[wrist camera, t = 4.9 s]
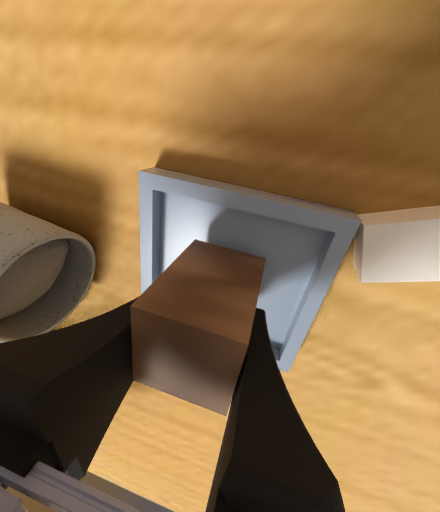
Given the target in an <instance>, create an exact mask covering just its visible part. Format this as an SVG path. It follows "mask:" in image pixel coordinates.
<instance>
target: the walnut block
mask: <svg viewBox="0 0 440 512" xmlns="http://www.w3.org/2000/svg"><path fill="white" fill-rule="evenodd" d="M265 261H266V258H264V257H260V256H256V255H252V254H249V253H245V252H241V251H237V250H234V249H230V248H226V247H222V246H219V245H215V244H211V243H207V242H203V241H200V240H196V239H195V240H194V241H193V242H192V243H191V244H190V245H189V246H188V247H187V248H186V249H185V250H184V251H183V252H182V253H181V254H180V255H179V256H178V257H177V258H176V259H175V260H174V261H173V262H172V263H171V265H170V266H169V267H168V268H167V269H166V270H165V271H164V272H163V273H162V274H161V275H160V276H159V277H158V278H157V279H156V280H155V281H154V282H153V283H152V284H151V285H150V286H149V287H148V288H147V289H146V290H145V291H144V292H143V293H142V294H141V295H140V296H139V297H138V298H137V299H136V300H135V301H134V303H133V304H132V305H131V306H130V311H131V339H132V367H133V380H134V381H137V382H139V383H142V384H144V385H147V386H150V387H152V388H155V389H157V390H160V391H162V392H165V393H168V394H170V395H173V396H175V397H178V398H181V399H183V400H186V401H188V402H191V403H193V404H196V405H199V406H201V407H204V408H206V409H209V410H211V411H214V412H217V413H219V414H222V415H224V416H226V415H227V411H228V408H229V405H230V402H231V399H232V396H233V392H234V389H235V386H236V383H237V380H238V377H239V373H240V370H241V367H242V364H243V361H244V358H245V354H246V351H247V348H248V345H249V340H250V335H251V330H252V325H253V320H254V315H255V311H256V306H257V301H258V296H259V291H260V286H261V281H262V276H263V271H264V266H265Z"/></svg>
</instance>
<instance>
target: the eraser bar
mask: <svg viewBox="0 0 440 512" xmlns="http://www.w3.org/2000/svg"><path fill="white" fill-rule="evenodd" d="M357 216H358V217H359V218H360V219H361V220H362V221H361V223H360V226H359V228H358V230H357V232H356V234H355V236H354V260H353V267H354V269H355V271H356V273H357V275H358V278H359V280H360V282H361V283H384V282H422V281H440V205H438V206H429V207H420V208H411V209H402V210H393V211H384V212H375V213H366V214H357Z"/></svg>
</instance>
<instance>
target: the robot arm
mask: <svg viewBox="0 0 440 512" xmlns="http://www.w3.org/2000/svg"><path fill="white" fill-rule="evenodd" d="M137 298H138V297H137ZM137 298H136V299H137ZM136 299H134V300H132V301H130V302H128V303H126V304H124V305H122V306H120V307H118V308H116V309H114V310H111V311H109V312H107V313H105V314H102V315H100V316H97V317H95V318H92V319H89V320H86V321H83V322H80V323H77V324H74V325H71V326H68V327H65V328H62V329H58V330H55V331H51V332H48V333H44V334H40V335H36V336H31V337H27V338H22V339H17V340H13V341H8V342H3V343H0V512H28V510H27V509H26V508H25V507H24V506H23V504H22V501H21V500H20V499H19V498H17V497H16V496H14V495H13V494H11V493H10V492H8V491H7V490H5V489H4V488H2V487H1V483H3V484H5V485H7V486H9V487H11V488H13V489H15V490H17V491H19V492H21V493H23V494H25V495H26V496H28V497H30V498H32V499H34V500H36V501H38V502H40V503H42V504H44V505H46V506H48V507H50V508H52V509H54V510H55V511H57V512H143V511H141V510H139V509H137V508H135V507H133V506H131V505H129V504H126V503H124V502H122V501H120V500H118V499H116V498H114V497H112V496H110V495H108V494H106V493H104V492H102V491H100V490H97V489H95V488H93V487H91V486H89V485H87V484H85V483H83V482H81V481H79V480H80V479H81V478H83V477H84V476H85V474H86V472H87V470H88V467H89V465H90V463H91V461H92V459H93V457H94V455H95V453H96V451H97V449H98V447H99V445H100V443H101V441H102V439H103V437H104V435H105V433H106V431H107V429H108V427H109V425H110V423H111V421H112V419H113V417H114V415H115V413H116V412H117V410H118V408H119V406H120V404H121V402H122V400H123V399H124V397H125V395H126V393H127V391H128V389H129V388H130V386H131V384H132V382H133V367H132V339H131V311H130V306H131V305H132V304H133V303H134V301H135V300H136ZM206 512H345V508H344V504H343V500H342V496H341V492H340V488H339V484H338V481H337V479H336V478H335V476H334V475H333V473H332V471H331V470H330V468H329V467H328V465H327V463H326V462H325V460H324V458H323V457H322V455H321V453H320V452H319V450H318V449H317V447H316V445H315V443H314V442H313V440H312V438H311V436H310V434H309V433H308V431H307V429H306V427H305V425H304V423H303V421H302V419H301V417H300V415H299V414H298V412H297V410H296V408H295V406H294V404H293V402H292V399H291V397H290V395H289V393H288V390H287V388H286V386H285V383H284V381H283V378H282V376H281V373H280V371H279V368H278V365H277V362H276V359H275V356H274V352H273V349H272V345H271V341H270V337H269V333H268V328H267V322H266V312H265V311H264V310H263V309H259V308H256V311H255V315H254V320H253V325H252V330H251V335H250V340H249V345H248V348H247V351H246V354H245V358H244V361H243V364H242V367H241V370H240V373H239V377H238V380H237V383H236V386H235V389H234V392H233V396H232V401H231V406H230V411H229V416H228V420H227V424H226V428H225V433H224V437H223V441H222V445H221V450H220V454H219V458H218V462H217V466H216V470H215V475H214V479H213V483H212V487H211V491H210V495H209V499H208V503H207V508H206Z"/></svg>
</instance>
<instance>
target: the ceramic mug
mask: <svg viewBox="0 0 440 512" xmlns="http://www.w3.org/2000/svg"><path fill="white" fill-rule="evenodd" d="M95 265H96V258H95V252H94V249H93V247H92V246H91V244H90V243H89V242H88V240H86V239H85V238H83V237H82V236H80V235H78V234H76V233H74V232H71V231H68V230H66V229H64V228H61V227H59V226H57V225H55V224H52V223H50V222H47V221H45V220H43V219H40V218H38V217H35V216H32V215H30V214H27V213H25V212H23V211H21V210H18V209H16V208H14V207H12V206H9V205H6V204H4V203H1V202H0V343H3V342H8V341H13V340H17V339H22V338H27V337H31V336H36V335H40V334H44V333H47V332H49V331H50V330H52V329H53V328H55V327H56V326H58V325H59V324H60V323H61V322H62V321H63V320H64V319H66V318H67V317H68V316H69V315H70V314H71V313H72V311H73V310H74V309H75V308H76V307H77V306H78V304H79V303H80V302H81V300H82V299H83V297H84V296H85V294H86V293H87V291H88V288H89V287H90V285H91V282H92V279H93V276H94V273H95Z"/></svg>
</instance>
